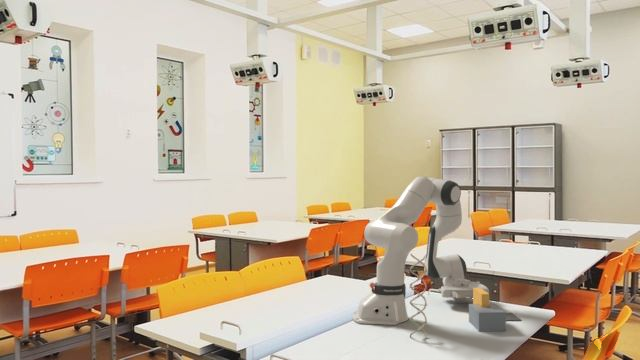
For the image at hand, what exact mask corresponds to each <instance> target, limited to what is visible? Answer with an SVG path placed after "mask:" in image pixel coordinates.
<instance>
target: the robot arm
mask: <svg viewBox="0 0 640 360" xmlns="http://www.w3.org/2000/svg"><path fill="white" fill-rule="evenodd" d="M461 193H462V191H461V187H460V185H459V184H458V183H457V182H455V181H453V180H447V179H443V178H440V177H427V176H423V175H422V176H416V177H415V178H414V179H413V180H412V181H411V182H410V183H409V184H408V185H407V186H406V188H405V189H404V190H403V191H402V194H400V196H399V197H398V198H397V200H396V201H395V202H394V204H393V206H391V207H390V209H388V210H387V211H385V213H384V214H382V215H381V216H380V217H378V218H376V219H375V220H373V221H369V222H368V223H367V224H366V226H365V228H364V231H363V236H364V239H365V240H366V242H367V243H369V244H370V245H372V246H374V247H377V248H380V249H381V248H382V249H385V250H384V255H383V258H381V259H380V260H379V261H378V262H377V264H376V282H375V283H374V282H373V281H371V282H370V283H369V287H370V288H371V292H370V293H369V294H367V295H365V297H363V298H361V299H360V301H359V303H358V305H357V306H358V307H357V311H353V312H352V314H351V315H352V316H351V317H352V320H353V322H355V323H358V324H361V325H362V324H363V325H364V324H366V325H367V324H369V325H385V326H386V325H387V326H388V325H389V326H391V325H392V326H397V325H398V324H401V323H403V322H404V323H405V322H406V321H408V320H409V315H408V313H407V312H408V311H407V306H406V294H407V291H406V290H407V289H406V288H407V287H406V283H405V268H406V267H405V266H406V261H407V258H408V256H409V255H410V254H411V251H413V250H414V249H415V248H416V246H417V245H418V242H419V233H418V231H417V229H416V228H415V227H413V226H412V224H414V223H415V222H417V221H418V220H419V218H420V216H421V215H422V213H423V212H424V210H425V208H426V206H427V205H428V203H432V204H434V205H435V208H436V209H435V213H436V216H435V217H436V218H435V220H434V222H433V224H431V226H429V231H428V236H427V246H426V257H425V259H424V265H425V266H426V268H427V272H426V274H425V276H426V278H427V277H428V279H430V280H432V281H437V280H440V279H442V284H443V285H442V286H441V287H440V288H437V290H438V292H440V294H441V297H442V298H447V299H448V298H449V299H450V298H455V299H458V300H463V299H464V300H465V299H467V298H473V288H481V289H483V290H484V291H486V292H487V293H488V294H489V295H490V290H489V288H488V287H487V286H486V285H484V284H482V283H481V282H480V281H479V280H478V281H477V280H470V279H466V277H467V274H468V273H467V272H468V271H467V270H468V269H467V264H466V261H465V260H464V258H463V257H462V256H460V255H459V254H450V255H445V256H444V255H443V256H437V254H438V247H439V246H438V245H439V242H440V241H442V239H443V238H445V237H446V236H448V235H450V234H452V233H454V232H455V231H456V230H457V229H459V228H460V226H461V225H462V221H463V220H462V219H463V217H462V215H463V214H462V213H463V212H462V204H461V195H462V194H461ZM423 268H424V267H423ZM423 271H425V268H424V269H423Z"/></svg>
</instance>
